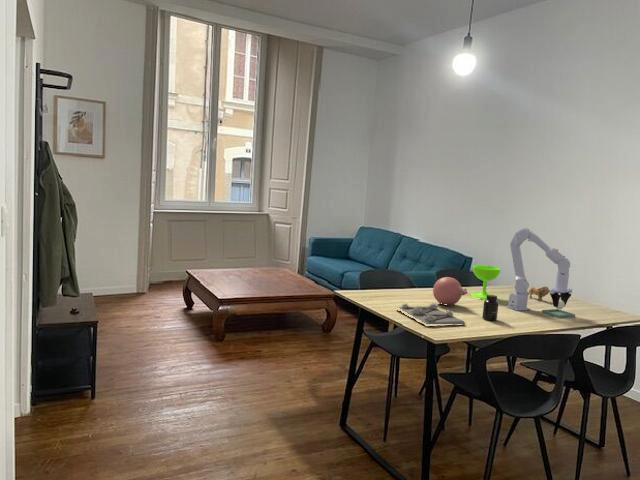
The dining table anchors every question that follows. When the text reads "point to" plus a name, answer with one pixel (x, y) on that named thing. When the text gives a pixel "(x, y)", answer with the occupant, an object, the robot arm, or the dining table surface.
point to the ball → (560, 304)
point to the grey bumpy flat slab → (431, 314)
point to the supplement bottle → (490, 308)
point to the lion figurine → (539, 292)
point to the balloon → (448, 291)
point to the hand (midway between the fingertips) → (559, 306)
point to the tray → (558, 313)
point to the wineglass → (484, 277)
